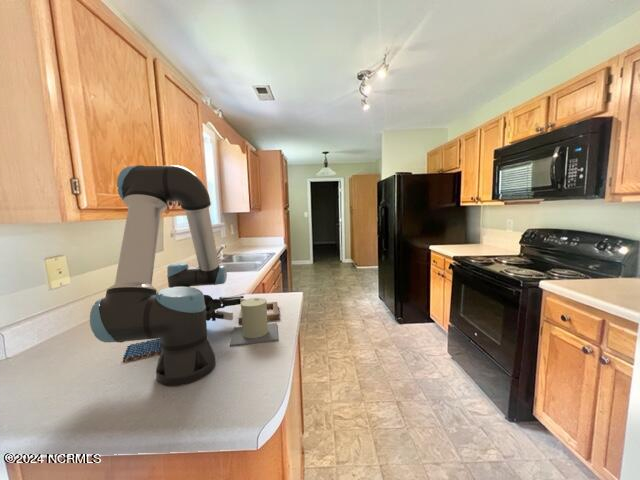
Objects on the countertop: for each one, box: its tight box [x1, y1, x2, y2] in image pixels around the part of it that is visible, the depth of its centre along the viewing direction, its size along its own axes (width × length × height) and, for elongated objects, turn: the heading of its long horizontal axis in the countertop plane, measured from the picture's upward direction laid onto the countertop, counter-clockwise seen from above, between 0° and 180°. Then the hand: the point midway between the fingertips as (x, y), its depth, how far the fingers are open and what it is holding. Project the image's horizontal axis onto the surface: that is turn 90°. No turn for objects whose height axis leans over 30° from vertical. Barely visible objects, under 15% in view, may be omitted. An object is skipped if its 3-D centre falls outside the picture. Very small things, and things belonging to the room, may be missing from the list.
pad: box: [229, 322, 279, 348], centre depth 97 cm, size 16×14×1 cm
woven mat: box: [122, 338, 161, 363], centre depth 88 cm, size 10×11×2 cm
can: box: [240, 297, 268, 338], centre depth 97 cm, size 9×9×12 cm
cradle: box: [237, 301, 280, 324], centre depth 117 cm, size 16×16×2 cm
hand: (244, 309), depth 98 cm, fingers open, 13 cm apart
